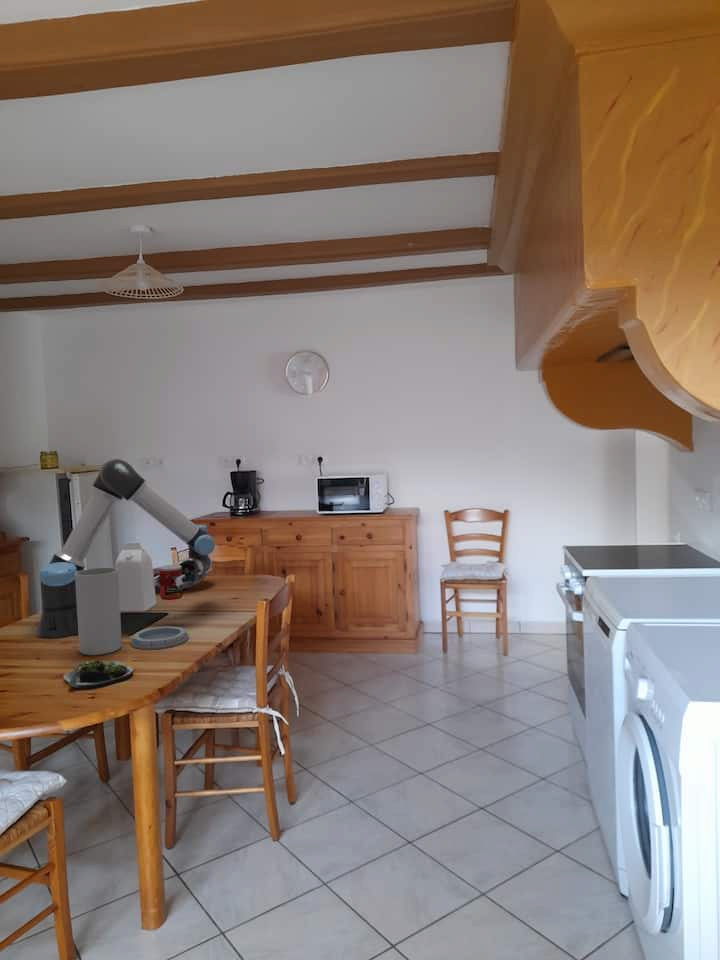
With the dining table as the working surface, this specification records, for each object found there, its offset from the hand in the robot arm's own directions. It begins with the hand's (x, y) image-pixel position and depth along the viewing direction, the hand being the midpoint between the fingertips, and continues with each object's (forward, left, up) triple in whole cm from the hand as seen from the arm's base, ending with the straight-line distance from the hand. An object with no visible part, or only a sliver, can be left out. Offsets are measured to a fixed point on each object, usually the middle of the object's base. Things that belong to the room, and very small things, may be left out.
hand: (165, 582), depth 230 cm
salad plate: (-36, -30, -17) cm, 50 cm away
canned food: (+4, +3, -7) cm, 8 cm away
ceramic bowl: (+36, +58, -17) cm, 70 cm away
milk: (+7, +39, -17) cm, 43 cm away
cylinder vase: (-25, -5, -17) cm, 31 cm away
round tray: (-8, -11, -17) cm, 21 cm away
